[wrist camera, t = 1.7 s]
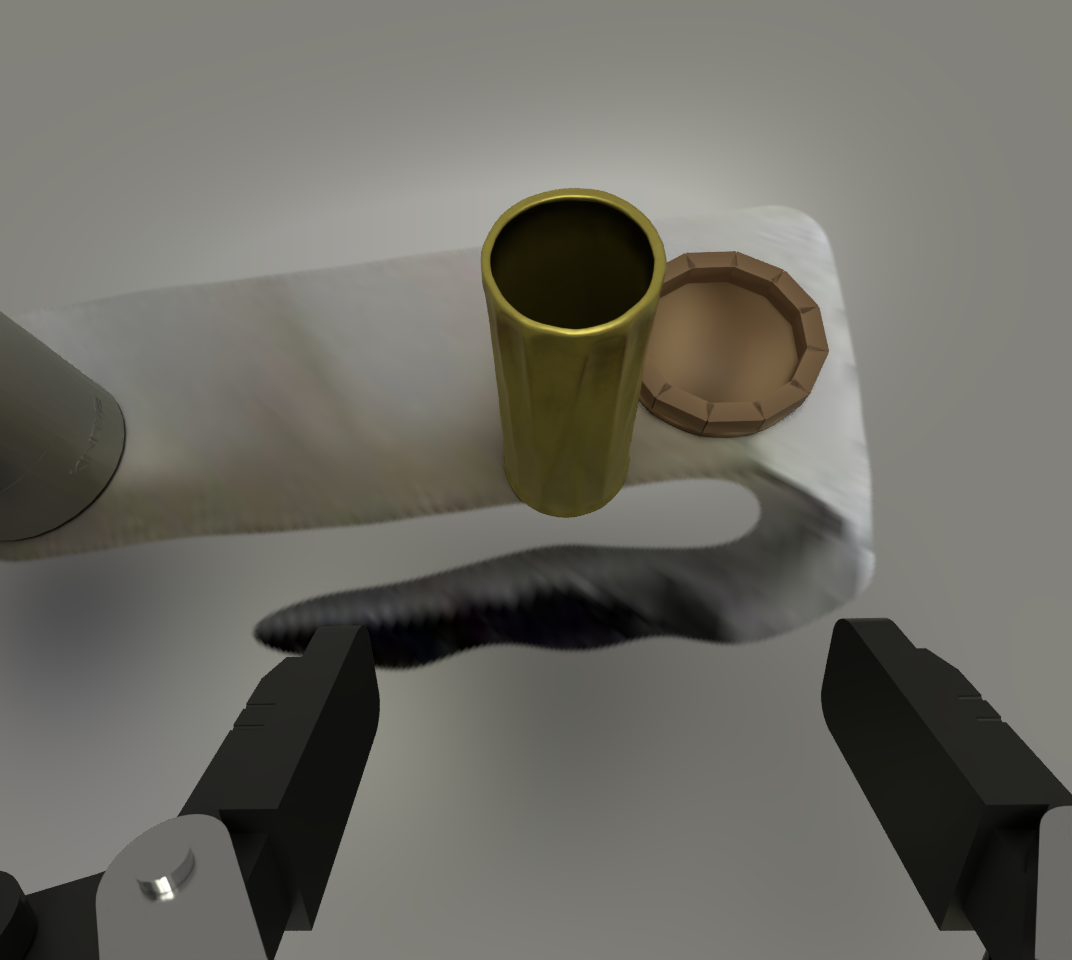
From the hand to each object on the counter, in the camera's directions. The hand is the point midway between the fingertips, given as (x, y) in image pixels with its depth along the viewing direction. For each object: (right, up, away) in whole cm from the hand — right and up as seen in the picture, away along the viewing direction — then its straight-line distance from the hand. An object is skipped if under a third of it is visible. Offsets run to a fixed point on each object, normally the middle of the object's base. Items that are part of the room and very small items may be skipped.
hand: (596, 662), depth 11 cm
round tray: (+8, +10, +22) cm, 25 cm away
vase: (0, +4, +20) cm, 20 cm away
